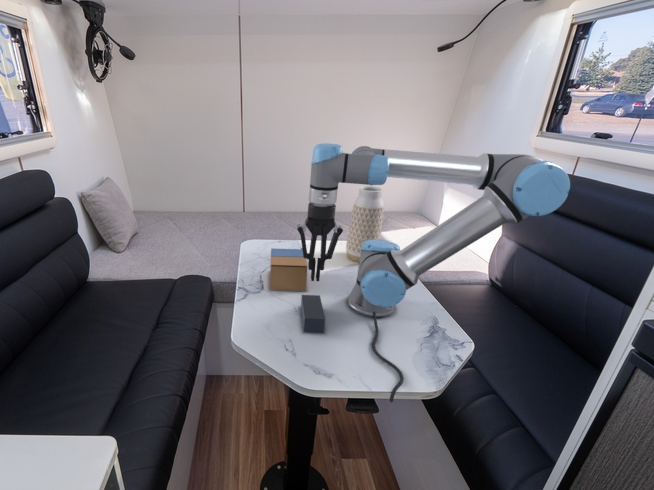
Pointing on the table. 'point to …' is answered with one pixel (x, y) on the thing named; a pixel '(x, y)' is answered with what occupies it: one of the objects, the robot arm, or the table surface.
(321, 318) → the case
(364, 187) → the vase
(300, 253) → the flap
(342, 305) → the table surface
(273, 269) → the carton
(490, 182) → the robot arm
